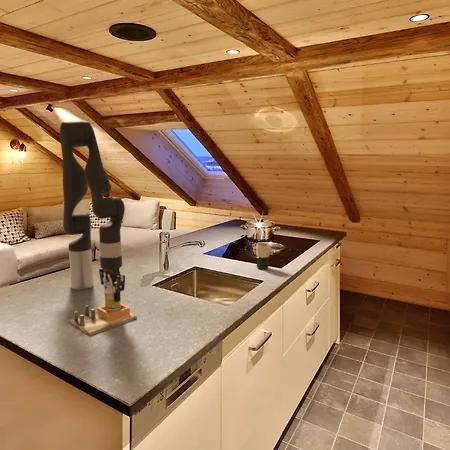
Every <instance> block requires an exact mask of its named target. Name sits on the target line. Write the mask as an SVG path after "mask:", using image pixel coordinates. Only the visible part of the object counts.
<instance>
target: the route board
mask: <svg viewBox="0 0 450 450" xmlns="http://www.w3.org/2000/svg"><path fill="white" fill-rule="evenodd" d="M115 311H118V310H115ZM115 311H109V313H112V312H115ZM89 313H90V314H91V312H89ZM83 315H84V323H85V325H84V326H81V325H79V324H78V323H76V322H75V321H74V317H73V318H71V319H69V322H70V324H72V325H74V326H75V327H77V328H78V329H80V330H81V331H82V332H84V333H85V334H87V335H88V336H92V335H95V334H98V333H100V332H103V331H106V330H109V329H111V328H114V327H117V326H120V325H123V324H125V323H127V322H131V321H133V320H137V318H138V317H137V316H138V315H136V314H134V313H132V312H130V314H129V315H126V316H123V317H120V318H118V319H115V320H112V321H108V320H107V319H105V318H103V317H101V316H100V315H98V310H95V317H96V319H93V320H92V319H91V318H89V317H87V316H86V315H85V314H83ZM78 319H79V320H80V316H78Z"/></svg>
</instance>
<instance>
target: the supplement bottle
mask: <svg viewBox="0 0 450 450" xmlns="http://www.w3.org/2000/svg"><path fill="white" fill-rule="evenodd" d="M114 283H117V282H114ZM106 287H107V288H106V289H105V288H104V306H105V308H106V310H108V311H115V310H118V309H120V307H121V304H122V303H121V301H122V300H120V301H119V302H114V290H113V287H112V286H111V284H110V282H107V283H106ZM116 287H117V285H116Z"/></svg>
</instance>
